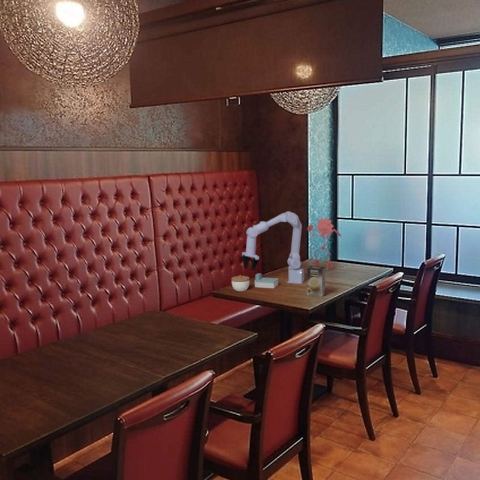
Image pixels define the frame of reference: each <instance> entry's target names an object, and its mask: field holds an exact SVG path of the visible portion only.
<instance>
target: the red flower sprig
mask: <svg viewBox="0 0 480 480" xmlns="http://www.w3.org/2000/svg"><path fill="white" fill-rule="evenodd" d="M315 228H316V230H318V233H319V234H314V225H313V224H309V225H308V226H307V232H308V233H309V232H312V236H313V237H316V236H317V237H318V236H319V237H322V238H323V239H324V240H323V244H322V245H321V247H320V248H318V249H316V250H315V251H314V255H315V260H314V261H313V266H321V267H326V271H328V270H329V268H331V269H333V270H334V268H336V266H334V264H333V263H332V262H331V261H330V260H327V261H326V264H327V265H325V264H322V265H321V264H320V261H319V259H317V253H316V252H317V251H319V250H326V251H327V252H328V259H330V257H331V256H330V255H331V253H330V251H329V250H328V249H327V248H326V246H325V243H326V239H327V240H328V239H329V238H330V236H331V235H332V234H333V232H334V233H336V235H338V237H342V234H341V233H340V232H339V231H338V230H336V229H335V227H334V225H333V223H332V220H331V219H328V217H326V218H323V217H320V220H319V221H317V225H316V226H315ZM325 235H326V236H325ZM327 236H328V237H327Z"/></svg>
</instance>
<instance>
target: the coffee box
mask: <svg viewBox="0 0 480 480" xmlns="http://www.w3.org/2000/svg"><path fill="white" fill-rule="evenodd" d="M306 284H307V285H306V288H307V290H306V296H311V297H321V298H322V297H324V295H326V266H322V265H321V266H315V265H309V266H308V267H307V268H306Z"/></svg>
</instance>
